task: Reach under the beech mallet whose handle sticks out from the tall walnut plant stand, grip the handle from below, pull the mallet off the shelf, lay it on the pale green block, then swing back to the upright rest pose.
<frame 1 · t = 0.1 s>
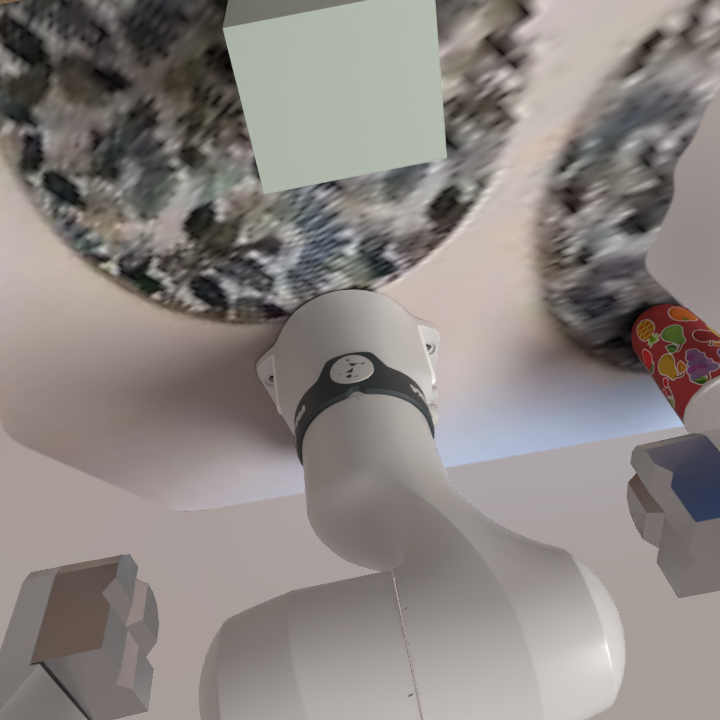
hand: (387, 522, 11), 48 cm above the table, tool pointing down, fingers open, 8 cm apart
smoothie: (655, 324, 71), on the table
pale green block: (318, 38, 50), on the table
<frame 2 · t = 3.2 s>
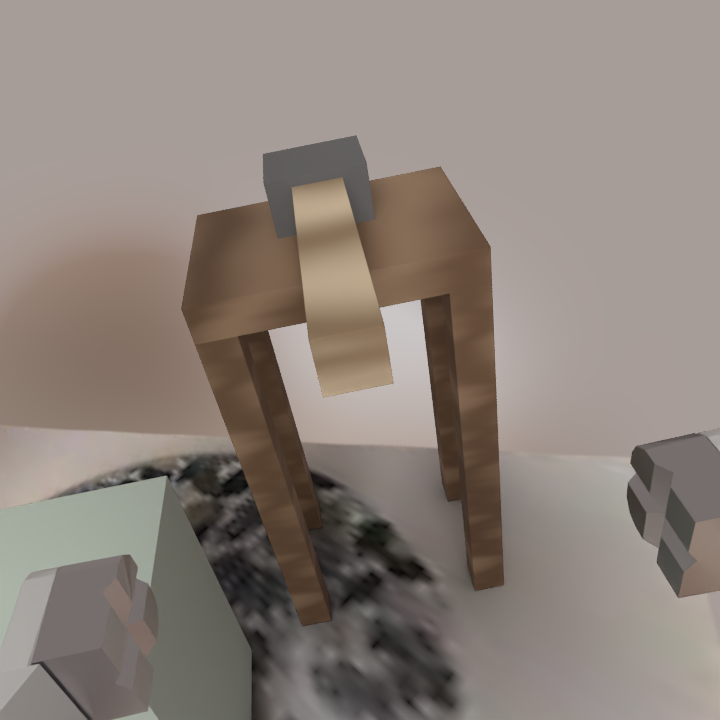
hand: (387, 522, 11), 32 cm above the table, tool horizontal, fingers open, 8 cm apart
plant stand: (391, 545, 49), on the table
mallet: (335, 272, 30), point 26 cm above the table, touching plant stand
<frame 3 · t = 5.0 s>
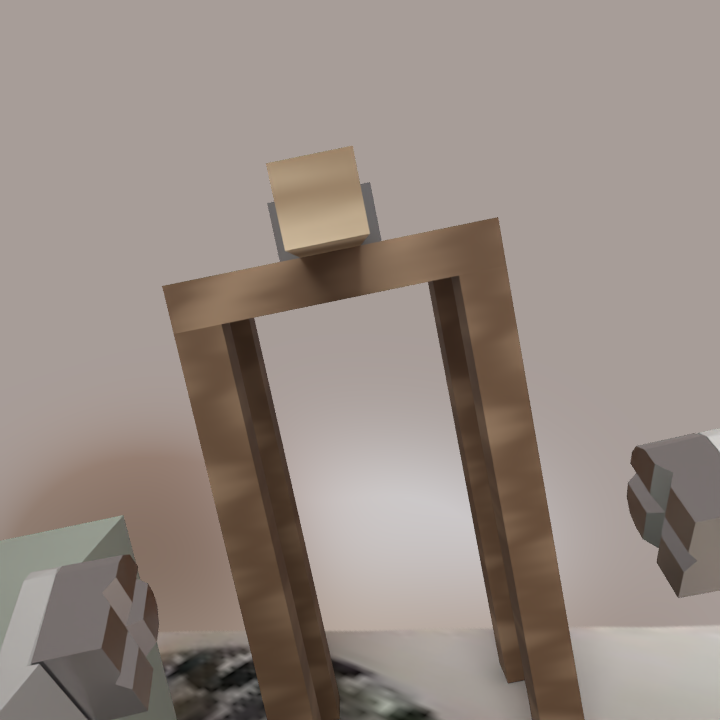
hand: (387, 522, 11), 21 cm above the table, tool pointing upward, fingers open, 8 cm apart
mallet: (330, 252, 28), point 26 cm above the table, touching plant stand
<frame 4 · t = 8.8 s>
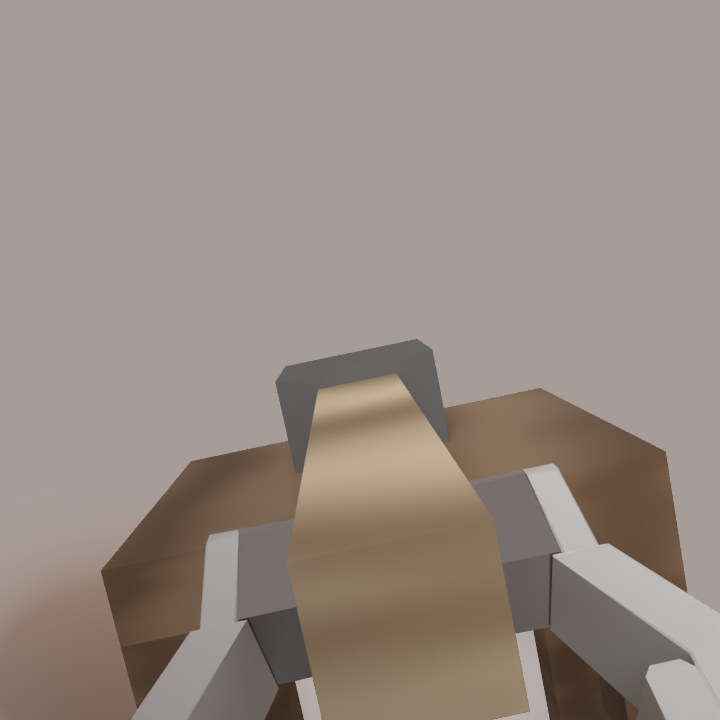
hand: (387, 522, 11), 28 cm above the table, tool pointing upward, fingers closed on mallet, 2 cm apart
mallet: (382, 504, 17), point 26 cm above the table, touching gripper, plant stand
when the fingers open (20 cm above the table, at t = 15.7 s): mallet drops 2 cm, resting on pale green block.
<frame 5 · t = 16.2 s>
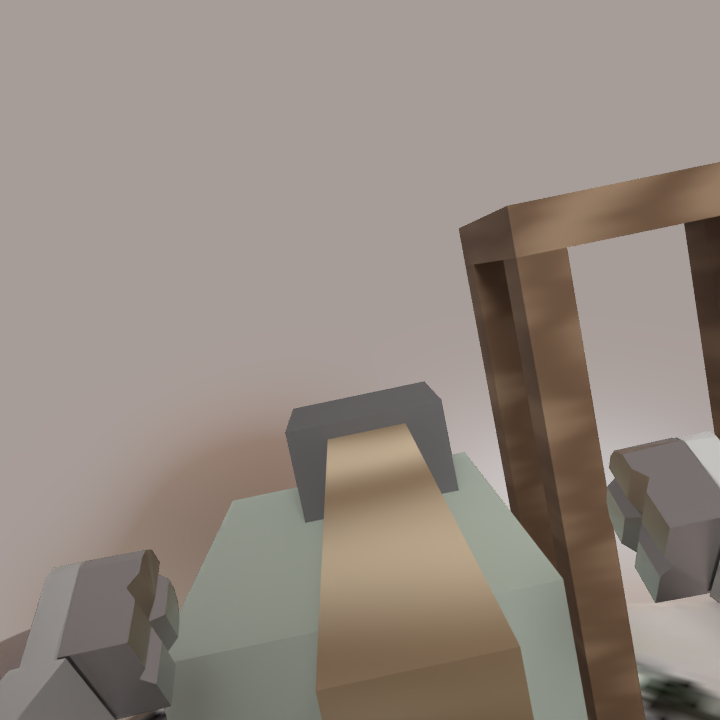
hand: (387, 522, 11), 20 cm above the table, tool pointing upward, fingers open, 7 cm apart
plant stand: (707, 706, 33), on the table
mallet: (394, 565, 17), point 17 cm above the table, touching pale green block
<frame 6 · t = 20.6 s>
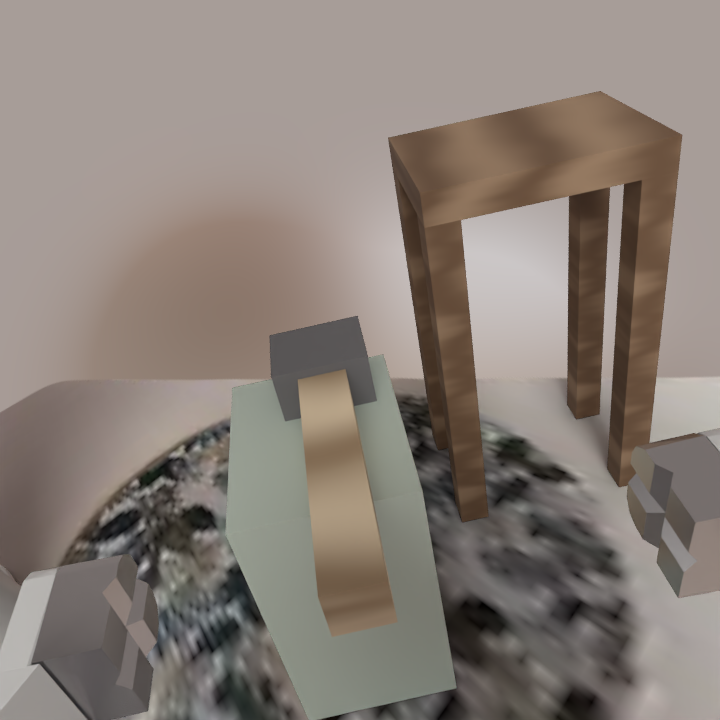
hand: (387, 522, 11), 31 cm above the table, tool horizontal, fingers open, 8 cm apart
plant stand: (530, 456, 53), on the table
mallet: (340, 470, 32), point 17 cm above the table, touching pale green block
pale green block: (369, 623, 44), on the table
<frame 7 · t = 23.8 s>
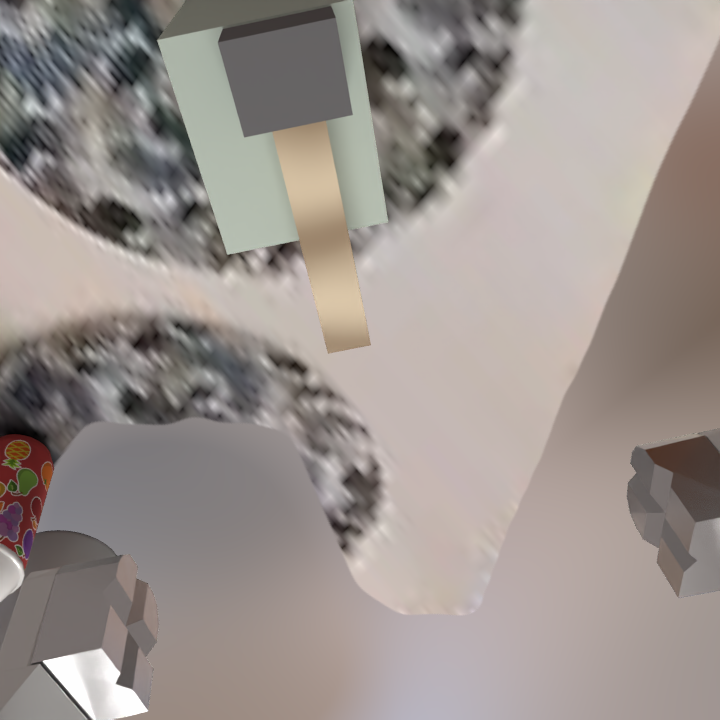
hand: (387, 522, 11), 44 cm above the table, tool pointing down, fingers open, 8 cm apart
smoothie: (21, 452, 66), on the table
cylinder vase: (66, 561, 76), on the table
mallet: (316, 193, 35), point 17 cm above the table, touching pale green block
pale green block: (282, 61, 47), on the table
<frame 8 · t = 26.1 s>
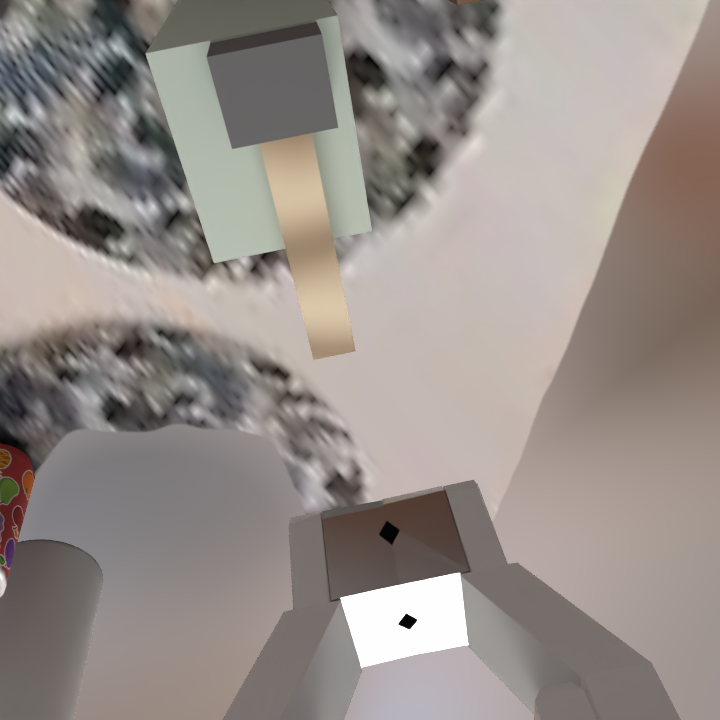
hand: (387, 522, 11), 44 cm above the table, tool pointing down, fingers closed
smoothie: (1, 461, 65), on the table
cylinder vase: (47, 570, 76), on the table
mallet: (301, 203, 36), point 17 cm above the table, touching pale green block
pale green block: (265, 72, 48), on the table
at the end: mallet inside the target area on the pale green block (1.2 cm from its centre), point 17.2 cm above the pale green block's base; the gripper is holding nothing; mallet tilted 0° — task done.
